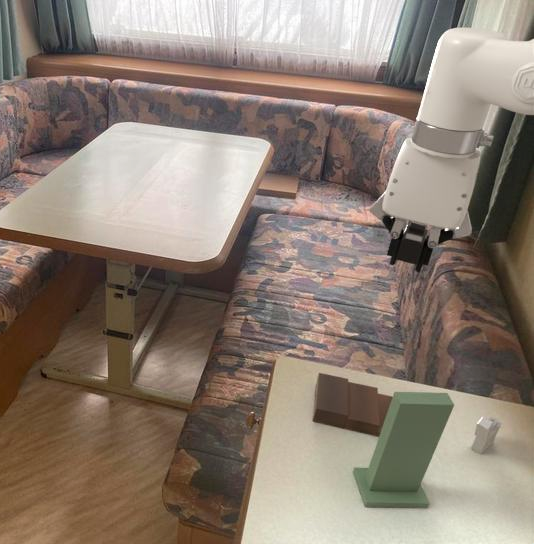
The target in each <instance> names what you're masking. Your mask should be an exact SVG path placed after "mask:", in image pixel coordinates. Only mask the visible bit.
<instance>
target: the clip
mask: <svg viewBox="0 0 534 544" xmlns="http://www.w3.org/2000/svg"><path fill="white" fill-rule="evenodd" d="M426 228H427V225H426V224H421V223H417V222H413V221H410V224H407V225H406V227H405V229H404V232H403V234H404V235H403V237H402V240H401V243H400V247H399V250H398V253H397V257H396V261H401V262H403V263H407V264H410V265H411V264H412V265H415V266H416V265H417V264H418V261H419V257H420V254H421V251H422V248H423V245H424V242H425V239H426V238H427V236H428V232H429V230H428V229H426Z"/></svg>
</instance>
